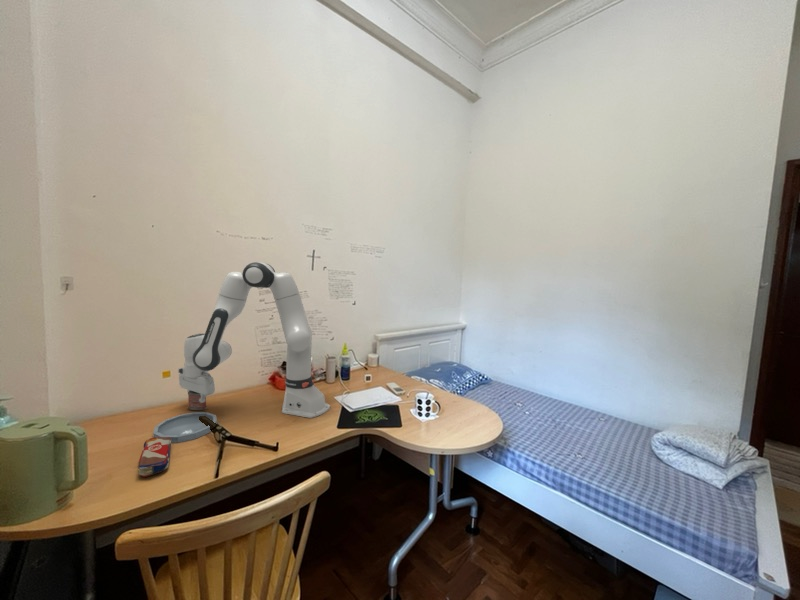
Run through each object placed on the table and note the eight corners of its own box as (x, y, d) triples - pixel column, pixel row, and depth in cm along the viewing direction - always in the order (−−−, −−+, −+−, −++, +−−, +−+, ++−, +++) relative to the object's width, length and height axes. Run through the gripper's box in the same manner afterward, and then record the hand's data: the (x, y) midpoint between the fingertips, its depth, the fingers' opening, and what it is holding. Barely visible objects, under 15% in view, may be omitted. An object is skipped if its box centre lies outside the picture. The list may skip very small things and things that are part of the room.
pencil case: (185, 443, 110) (185, 430, 110) (163, 478, 92) (163, 462, 91) (148, 448, 107) (148, 434, 106) (117, 485, 88) (117, 468, 88)
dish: (227, 424, 125) (227, 419, 124) (173, 448, 107) (173, 442, 106) (197, 413, 133) (197, 408, 133) (142, 433, 115) (142, 428, 115)
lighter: (208, 407, 138) (208, 385, 137) (203, 410, 135) (202, 388, 134) (192, 406, 139) (191, 384, 138) (186, 409, 136) (185, 387, 135)
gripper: (218, 372, 134) (219, 402, 135) (190, 364, 143) (191, 393, 144) (204, 376, 128) (204, 408, 129) (175, 368, 137) (176, 398, 138)
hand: (197, 400), depth 137 cm, fingers closed on lighter, 6 cm apart
